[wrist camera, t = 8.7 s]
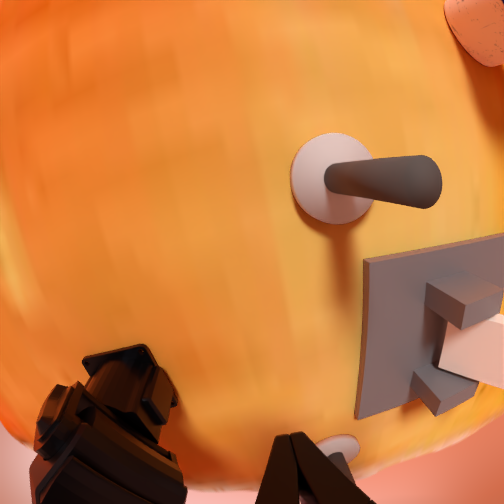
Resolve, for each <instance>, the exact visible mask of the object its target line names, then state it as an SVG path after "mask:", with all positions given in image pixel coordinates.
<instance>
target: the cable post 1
mask: <svg viewBox="0 0 504 504" xmlns="http://www.w3.org/2000/svg"><path fill="white" fill-rule="evenodd" d="M315 445H316V446H317V447H318V448H319V449H320V450H321V451H322V452H323V453H324V454H325V455H326V456H327V457H328V458H329V459H330V460H331V461H332V462H333V463H334V464H335V465H336V466H337V467H338V468H339V469H340V470H341V471H342V472H343V473H344V474H345V475H346V476H347V477H348V478H349V479H350V480H351V481H352V482H353V483H354V484H355V481H354V479H353V476H352V474H351V472H350V469H349V467H348V465H347V464H348V463H349V462H350V461H352V460H353V459H354V458H355V457H356V456H357V455H358V453H359V451H360V445H359V443H358V441H357V439H356V438H355V437H354V436H352V435H348V434H341V435H335V436H331V437H328V438H326V439H324V440H321V441H320V442H318V443H316V444H315ZM355 485H356V484H355Z"/></svg>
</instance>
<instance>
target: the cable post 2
mask: <svg viewBox="0 0 504 504" xmlns="http://www.w3.org/2000/svg"><path fill="white" fill-rule="evenodd" d="M290 185H291V190H292V193H293V195H294V197H295V199H296V201H297V203H298V204H299V206H300V207H301V208H302V209H303V210H304V211H305V212H306V213H307V214H309V215H310V216H312V217H314V218H316V219H318V220H320V221H322V222H325V223H329V224H345V223H349V222H351V221H354V220H356V219H357V218H359V217H360V216H362V215H363V214H364V213H365V212H366V211H367V210H368V208H369V207H370V206H371V204H372V202H373V200H379V201H384V202H390V203H395V204H401V205H406V206H411V207H416V208H421V209H426V208H429V207H431V206H433V205H434V204H435V203H436V202H437V200H438V199H439V197H440V194H441V191H442V176H441V173H440V170H439V168H438V166H437V164H436V163H435V162H434V161H433V160H432V159H431V158H429V157H427V156H424V155H418V156H403V157H391V158H379V159H373V158H372V156H371V154H370V153H369V151H368V150H367V149H366V148H365V147H364V146H363V145H362V144H361V143H360V142H359V141H358V140H356V139H354V138H353V137H350V136H348V135H345V134H340V133H328V134H323V135H320V136H318V137H315V138H313V139H311V140H309V141H308V142H306V143H305V144H304V145H303V146H302V147H301V148H300V149H299V150H298V152H297V153H296V155H295V157H294V159H293V161H292V165H291V169H290Z"/></svg>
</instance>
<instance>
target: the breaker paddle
mask: <svg viewBox="0 0 504 504" xmlns="http://www.w3.org/2000/svg"><path fill="white" fill-rule="evenodd" d="M438 367H439V368H442V369H445V370H448V371H451V372H453V373H456V374H459V375H462V376H465V377H468V378H471V379H474V380H477V381H480V382H483V383H486V384H489V385H492V386H495V387H498V388H502V389H504V315H502V314H496V315H494V316H492V317H490V318H488V319H486V320H484V321H481V322H479V323H477V324H475V325H472V326H470V327H468V328H466V329H463V330H459V329H458V328H457V327H455V326H454V325H453V324H451V323H450V322H448V324H447V329H446V335H445V339H444V344H443V349H442V353H441V357H440V362H439V366H438Z"/></svg>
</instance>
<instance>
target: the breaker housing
mask: <svg viewBox="0 0 504 504" xmlns="http://www.w3.org/2000/svg"><path fill="white" fill-rule="evenodd" d="M363 270H364V282H363V323H362V341H361V356H360V368H359V378H358V388H357V397H356V405H355V412H354V414H355V416H356V418H357V419H358V420H359V419H363V418H366V417H369V416H372V415H375V414H378V413H381V412H384V411H387V410H389V409H392V408H395V407H397V406H400V405H403V404H405V403H408V402H410V401H413V400H415V399H418V398H420V399H421V400H422V401H423V402H424V404H425V405H426V406H427V407H428V408H429V410H430V411H431V412H432V413H433V415H434V416H435V417H436V416H438V415H440V414H442V413H444V412H446V411H448V410H450V409H452V408H454V407H456V406H457V405H459V404H461V403H463V402H465V401H466V400H468V399H470V398H472V397H473V396H474V394H475V392H476V389H477V387H478V384H479V381H477V380H474V379H471V378H468V377H465V376H462V375H459V374H456V373H453V372H451V371H448V370H445V369H442V368H439V367H438V366H439V362H440V357H441V353H442V349H443V344H444V339H445V335H446V329H447V324H448V322H450V323H451V324H453V325H454V326H455V327H457V328H458V329H459V330H463V329H466V328H468V327H470V326H472V325H475V324H477V323H479V322H481V321H484V320H486V319H488V318H490V317H492V316H494V315H496V314H499V313H500V308H501V304H502V298H503V293H504V233H500V234H495V235H490V236H485V237H480V238H475V239H470V240H465V241H460V242H455V243H450V244H445V245H440V246H434V247H429V248H424V249H418V250H413V251H407V252H402V253H396V254H391V255H385V256H379V257H374V258H368V259H363Z"/></svg>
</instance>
